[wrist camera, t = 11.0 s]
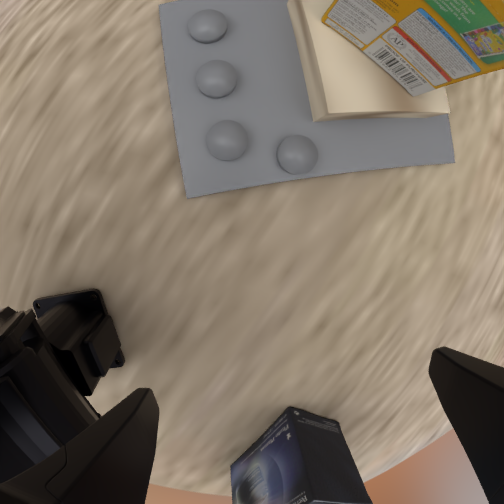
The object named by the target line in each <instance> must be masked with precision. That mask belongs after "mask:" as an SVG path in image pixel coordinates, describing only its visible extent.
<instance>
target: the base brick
mask: <svg viewBox="0 0 504 504" xmlns="http://www.w3.org/2000/svg"><path fill="white" fill-rule="evenodd" d="M333 1H334V0H288V2H287V8H288V11H289V15H290V19H291V23H292V27H293V30H294V34H295V38H296V43H297V47H298V51H299V55H300V60H301V64H302V69H303V73H304V78H305V82H306V87H307V92H308V97H309V102H310V107H311V112H312V118H313V122H319V121H332V120H347V119H368V118H428V117H433V116H438V115H443V114H449V113H450V108H449V103H448V98H447V93H446V89H445V86H444V87H441V88H438V89H435V90H432V91H429V92H427V93H424V94H421V95H418V96H412V95H411V94H409V93H408V91H407V90H406V89H405V88H404V87H403V86H402V85H401V84H400V83H399V82H398V81H397V80H395V79H394V78H393V77H392V76H391V75H390V74H389V73H388V72H386V71H385V70H384V69H383V68H382V67H381V66H380V65H378V64H377V63H376V62H375V61H374V60H372V59H371V58H370V57H369V56H368V55H366V54H365V53H364V52H363V51H362V50H361V49H359V48H358V47H356V46H355V45H354V44H353V43H351V42H350V41H349V40H347V39H346V38H345V37H343V36H342V35H341V34H339V33H338V32H336V31H335V30H334V29H332V28H331V27H328V26H327V25H325V24H323V23H322V22H321V18H322V16H323V15H324V13H325V12H326V11H327V9H328V8H329V7H330V5H331V4H332V2H333Z"/></svg>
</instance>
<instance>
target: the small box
mask: <svg viewBox="0 0 504 504" xmlns="http://www.w3.org/2000/svg"><path fill="white" fill-rule="evenodd" d="M231 486H232V502H233V504H373V503H372V501H371V499H370V497H369V496H368V494H367V491H366V489H365V486H364V484H363V481H362V479H361V477H360V474H359V472H358V469H357V467H356V465H355V462H354V460H353V457H352V455H351V452H350V450H349V448H348V445H347V444H346V441H345V439H344V436H343V434H342V431H341V428H340V425H339V422H336V421H333V420H329V419H326V418H322V417H319V416H316V415H314V414H310V413H307V412H306V411H303V410H299V409H295V408H292V407H288V408H287V409H286V410H285V412H284V413H283V414H282V415H281V416H280V417H279V418H278V419H277V420H276V421H275V422H274V423H273V425H272V426H271V427H270V428H269V429H268V430H267V431H266V432H265V433H264V434H263V435H262V436H261V437H260V438H259V439H258V440H257V441H256V442H255V443H254V444H253V445H252V446H251V447H250V448H249V449H248V450H247V451H246V452H245V453H244V454H243V455H242V456H241V457H240V458H238V459H237V460H236V461H235V462H234V463H233V464H232V465H231Z"/></svg>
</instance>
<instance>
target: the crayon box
mask: <svg viewBox="0 0 504 504" xmlns="http://www.w3.org/2000/svg"><path fill="white" fill-rule="evenodd" d="M321 22H322V23H323V24H325V25H327V26H328V27H331V28H332V29H334V30H335V31H336V32H338V33H339V34H341V35H342V36H343V37H345V38H346V39H347V40H349V41H350V42H351V43H353V44H354V45H355V46H356V47H358V48H359V49H361V50H362V51H363V52H364V53H365V54H366V55H368V56H369V57H370V58H371V59H372V60H374V61H375V62H376V63H377V64H378V65H380V66H381V67H382V68H383V69H384V70H385V71H386V72H388V73H389V74H390V75H391V76H392V77H393V78H394V79H395V80H397V81H398V82H399V83H400V84H401V85H402V86H403V87H404V88H405V89H406V90H407V91H408V93H409V94H411V95H412V96H418V95H421V94H424V93H427V92H429V91H432V90H435V89H438V88H441V87H444V86H447V85H450V84H453V83H456V82H459V81H463V80H466V79H469V78H472V77H475V76H479V75H482V74H486V73H489V72H493V71H497V70H500V69H504V0H334V1H333V2H332V4H331V5H330V7H329V8H328V9H327V11H326V12H325V13H324V15H323V16H322V18H321Z"/></svg>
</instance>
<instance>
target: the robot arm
mask: <svg viewBox="0 0 504 504" xmlns="http://www.w3.org/2000/svg"><path fill="white" fill-rule="evenodd" d="M92 294H95V295H96V297H97V298H94V297H93V296H92ZM38 304H39V305H40V307H39V306H38ZM33 307H34V310H35V312H36V315H37V317H38V320H36V319H35V317H36V315H35V314H34V312H33V310H32V309H29V310H27V311H25V312H24V311H21V312H18V311H17V312H16V311H14V310H13V309H11V308H10V307H6V308H4V309H2V310H1V311H0V504H145V499H146V494H147V489H148V485H149V480H150V475H151V471H152V466H153V462H154V457H155V451H156V441H157V431H158V421H159V407H158V404H157V401H156V399H155V396H154V394H153V391H152V390H151V389H150V388H138V389H136V390H135V391H134V392H132V393H131V394H130V395H129V396H127V397H126V398H125V399H124V400H122V401H121V402H120V403H119V404H117V405H116V406H115V407H113V408H112V409H111V410H110V411H108V412H107V413H106V414H105V415H103V416H101V415H100V414H99V413H97V412H96V410H95V409H94V408H93V407H92V405H91V404H90V403H89V401H88V400H87V399H86V397H85V396H91V395H92V393H93V391H94V389H95V387H96V386H97V384H98V382H99V380H100V378H101V377H105V375H106V373H107V371H108V369H109V368H117V367H122V366H123V365H124V363H125V359H124V356H123V354H122V351H121V349H120V347H121V343H120V341H119V338H118V335H117V333H116V330H115V327H114V325H113V322H112V319H111V317H110V316H109V315H108V313H107V310H106V307H105V304H104V301H103V298H102V295H101V293H100V291H99V290H97V289H89V290H83V291H78V292H72V293H66V294H60V295H55V296H49V297H43V298H38V299H36V300H35V301H34V302H33ZM116 359H118V360H120V362H118V361H117V360H116ZM429 376H430V378H431V381H432V383H433V385H434V388H435V390H436V392H437V395H438V397H439V400H440V402H441V405H442V407H443V409H444V411H445V413H446V415H447V417H448V419H449V421H450V423H451V424H452V426H453V428H454V430H455V432H456V434H457V436H458V438H459V440H460V442H461V444H462V446H463V447H464V450H465V452H466V454H467V456H468V458H469V460H470V462H471V464H472V466H473V468H474V470H475V473H476V475H477V477H478V479H479V481H480V483H481V486H482V488H483V490H484V493H485V495H486V497H487V499H488V501H489V504H504V368H503V367H500V366H497V365H495V364H492V363H489V362H486V361H483V360H481V359H478V358H475V357H472V356H470V355H467V354H464V353H461V352H459V351H456V350H453V349H450V348H448V347H440V348H436V349H434V350H433V352H432V356H431V361H430V365H429Z"/></svg>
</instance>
